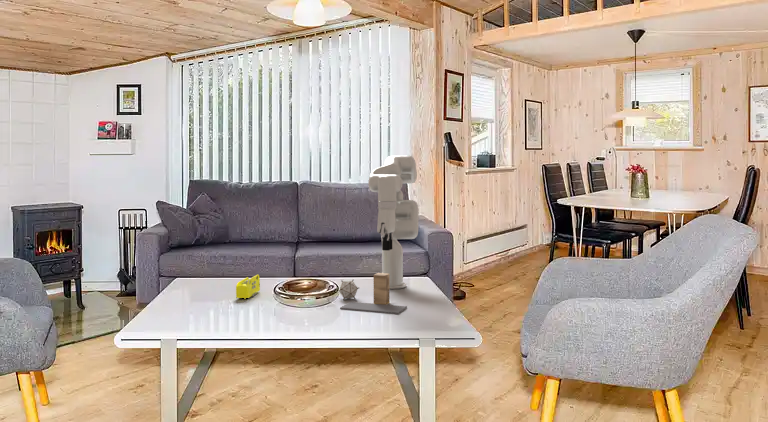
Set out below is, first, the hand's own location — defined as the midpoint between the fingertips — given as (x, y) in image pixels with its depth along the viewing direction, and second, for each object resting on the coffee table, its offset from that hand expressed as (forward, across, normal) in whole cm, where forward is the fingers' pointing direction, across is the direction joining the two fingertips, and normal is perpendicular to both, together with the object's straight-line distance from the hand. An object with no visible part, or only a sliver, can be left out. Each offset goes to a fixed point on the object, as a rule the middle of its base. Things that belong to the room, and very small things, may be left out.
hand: (387, 249), depth 244 cm
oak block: (+21, +7, 0) cm, 22 cm away
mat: (+21, +16, 0) cm, 26 cm away
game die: (+21, +4, -16) cm, 27 cm away
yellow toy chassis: (+22, +13, -59) cm, 64 cm away
